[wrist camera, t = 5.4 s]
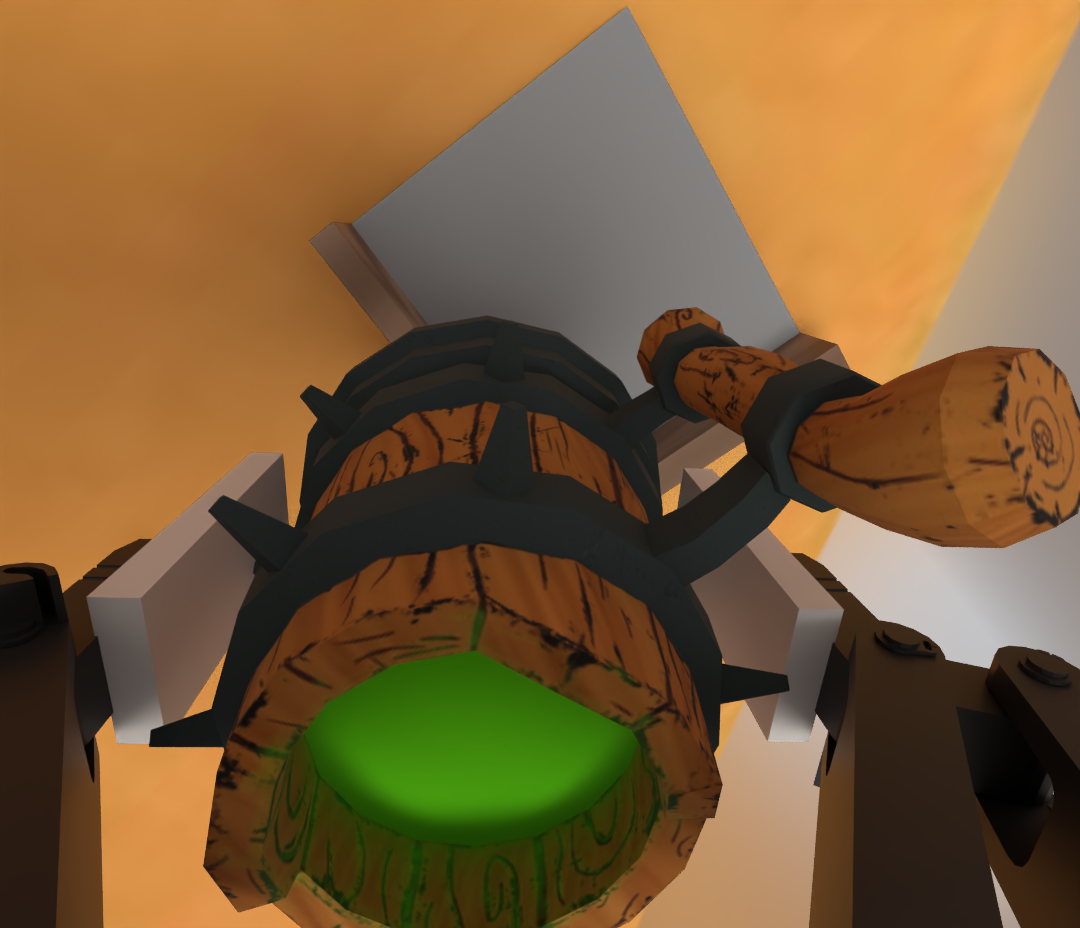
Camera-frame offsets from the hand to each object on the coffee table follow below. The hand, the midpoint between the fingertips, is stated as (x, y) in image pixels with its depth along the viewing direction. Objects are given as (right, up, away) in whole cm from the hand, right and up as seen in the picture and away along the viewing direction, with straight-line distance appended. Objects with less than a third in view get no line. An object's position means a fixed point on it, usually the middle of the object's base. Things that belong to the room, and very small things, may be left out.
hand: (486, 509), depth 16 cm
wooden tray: (+4, +9, +14) cm, 17 cm away
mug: (+1, +1, +1) cm, 2 cm away
